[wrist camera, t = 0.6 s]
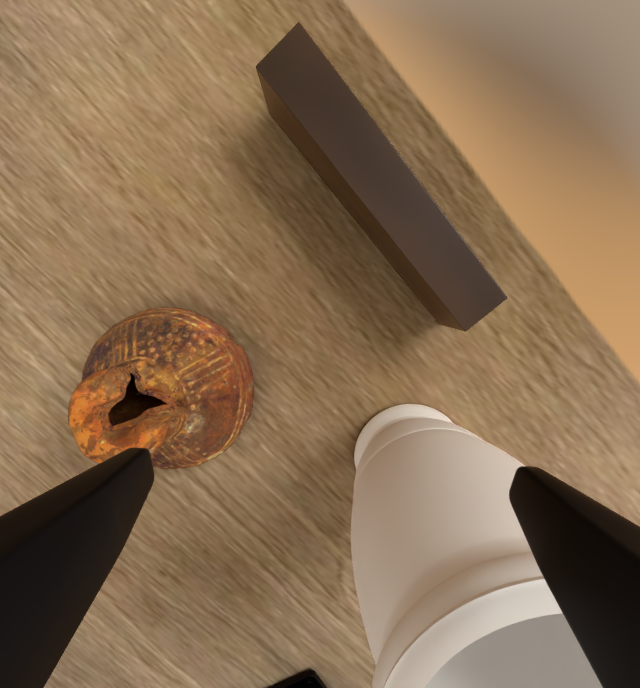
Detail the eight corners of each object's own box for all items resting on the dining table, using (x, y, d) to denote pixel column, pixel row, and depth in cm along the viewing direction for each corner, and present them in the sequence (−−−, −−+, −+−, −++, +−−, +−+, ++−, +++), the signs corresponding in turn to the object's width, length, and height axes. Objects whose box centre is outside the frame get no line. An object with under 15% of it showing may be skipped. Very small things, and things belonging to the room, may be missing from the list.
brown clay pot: (66, 355, 22) (-59, 386, 15) (205, 277, 21) (144, 269, 14) (153, 483, 24) (80, 567, 16) (286, 417, 23) (269, 475, 15)
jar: (316, 426, 23) (305, 676, 8) (441, 364, 22) (693, 516, 7) (377, 535, 24) (464, 914, 9) (496, 481, 23) (798, 808, 9)
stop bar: (439, 324, 21) (465, 332, 17) (268, 113, 19) (254, 66, 15) (473, 296, 21) (508, 298, 17) (303, 77, 19) (299, 20, 15)
